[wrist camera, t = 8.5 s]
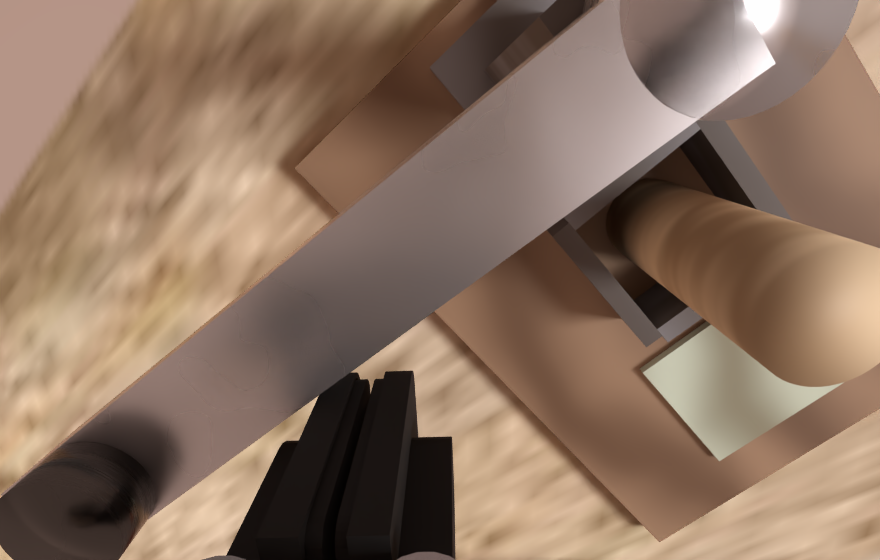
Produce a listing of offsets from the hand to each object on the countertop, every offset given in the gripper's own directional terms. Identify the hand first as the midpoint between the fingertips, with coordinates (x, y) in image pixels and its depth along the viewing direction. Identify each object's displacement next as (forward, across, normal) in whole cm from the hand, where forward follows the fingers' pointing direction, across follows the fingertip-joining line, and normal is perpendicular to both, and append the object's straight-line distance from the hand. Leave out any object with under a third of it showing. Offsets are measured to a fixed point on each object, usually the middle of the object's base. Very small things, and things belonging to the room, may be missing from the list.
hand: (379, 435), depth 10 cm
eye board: (+14, -12, 0) cm, 19 cm away
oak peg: (+13, -10, -1) cm, 17 cm away
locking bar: (+1, 0, -4) cm, 4 cm away
